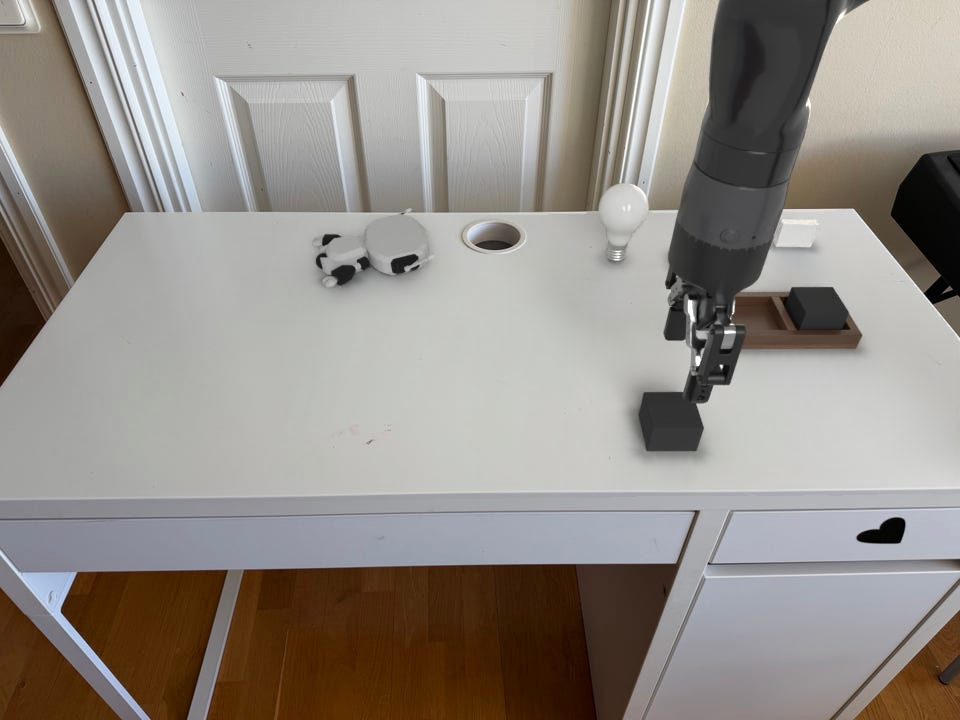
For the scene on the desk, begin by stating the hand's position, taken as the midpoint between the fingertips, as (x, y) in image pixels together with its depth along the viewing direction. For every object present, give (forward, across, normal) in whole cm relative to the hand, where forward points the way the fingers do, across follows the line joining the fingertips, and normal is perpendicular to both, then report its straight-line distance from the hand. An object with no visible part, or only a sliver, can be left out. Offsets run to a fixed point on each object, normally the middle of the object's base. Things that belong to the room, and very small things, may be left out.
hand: (683, 367), depth 66 cm
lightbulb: (+9, +31, +1) cm, 32 cm away
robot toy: (+10, +30, +33) cm, 45 cm away
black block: (+8, +17, -21) cm, 28 cm away
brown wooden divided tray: (+9, +17, -17) cm, 26 cm away
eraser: (+9, +35, -25) cm, 44 cm away
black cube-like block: (+9, 0, 0) cm, 9 cm away
